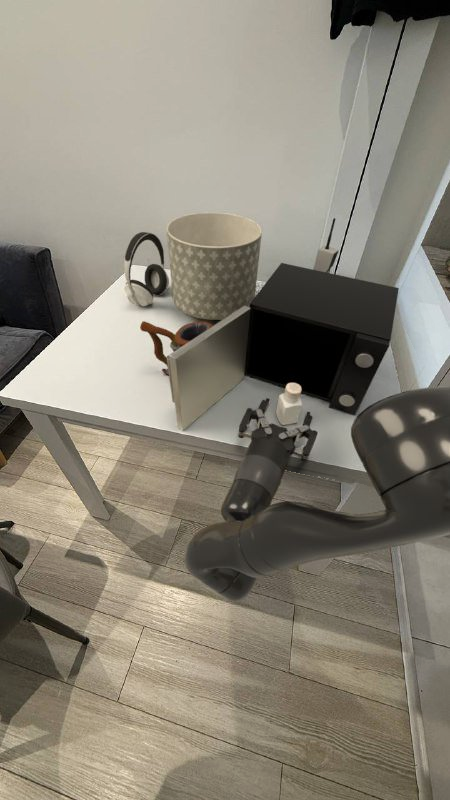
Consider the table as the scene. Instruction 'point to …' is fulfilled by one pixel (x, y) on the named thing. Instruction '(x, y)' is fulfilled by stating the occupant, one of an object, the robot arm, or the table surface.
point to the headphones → (153, 275)
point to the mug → (173, 337)
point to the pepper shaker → (289, 404)
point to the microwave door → (208, 366)
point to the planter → (213, 263)
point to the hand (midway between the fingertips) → (287, 407)
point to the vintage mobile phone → (326, 255)
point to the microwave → (320, 334)
